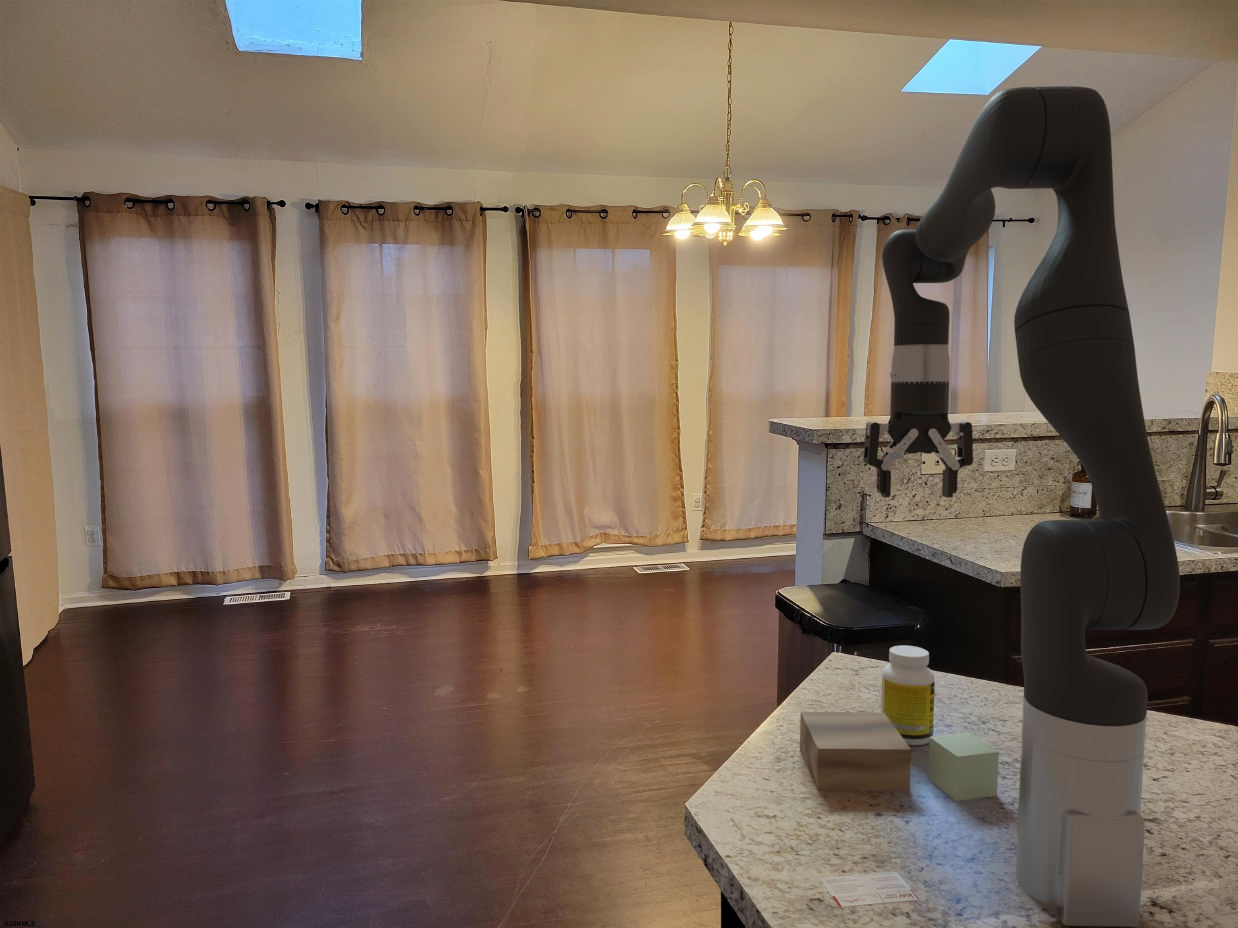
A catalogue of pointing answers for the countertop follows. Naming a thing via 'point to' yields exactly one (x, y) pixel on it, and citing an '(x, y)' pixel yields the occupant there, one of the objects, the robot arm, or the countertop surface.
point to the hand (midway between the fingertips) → (916, 496)
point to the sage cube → (963, 766)
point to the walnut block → (854, 751)
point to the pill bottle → (909, 693)
